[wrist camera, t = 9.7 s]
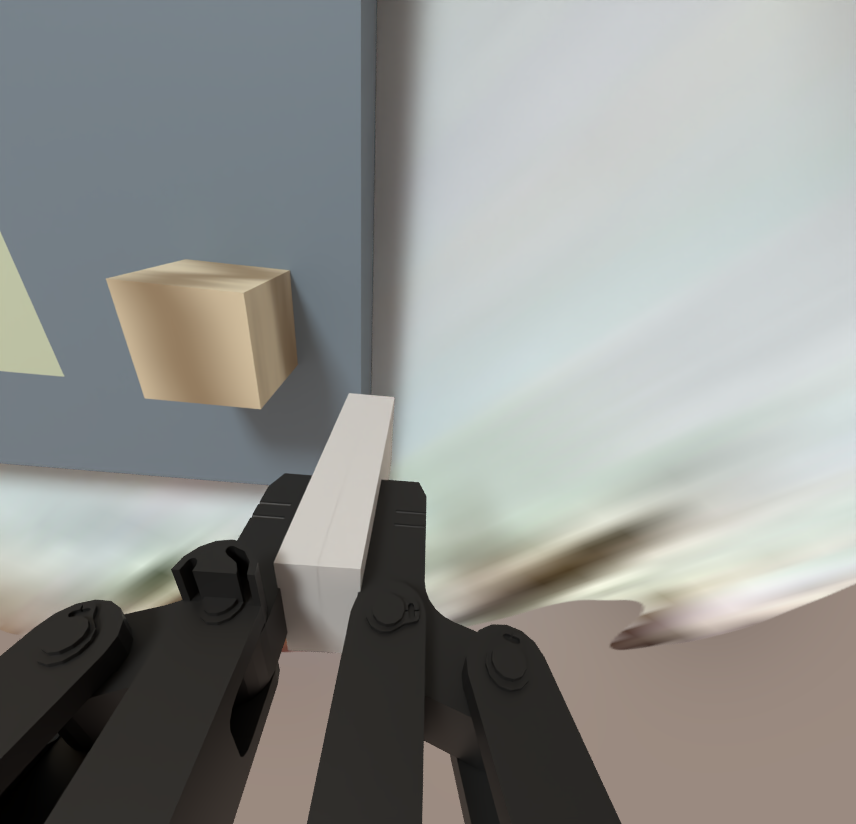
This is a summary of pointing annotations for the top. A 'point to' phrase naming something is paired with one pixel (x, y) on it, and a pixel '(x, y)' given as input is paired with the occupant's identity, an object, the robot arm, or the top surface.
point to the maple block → (208, 331)
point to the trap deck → (180, 217)
